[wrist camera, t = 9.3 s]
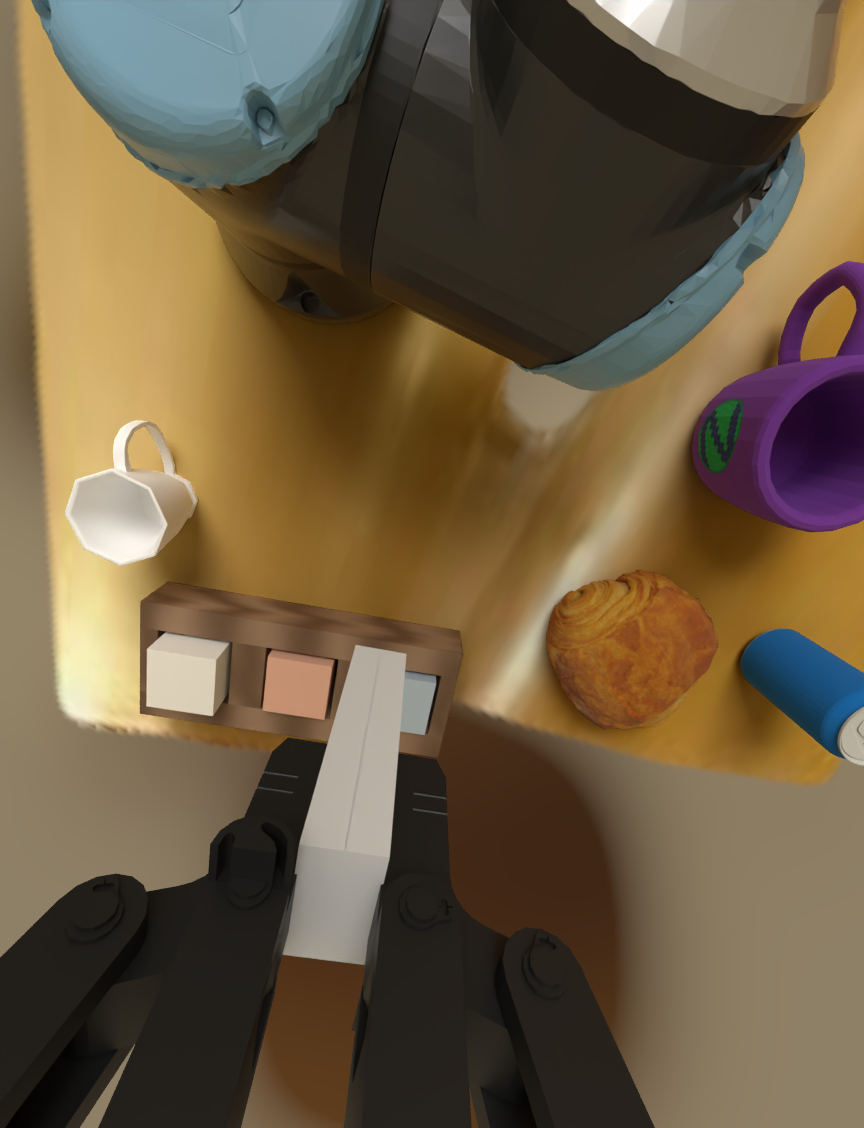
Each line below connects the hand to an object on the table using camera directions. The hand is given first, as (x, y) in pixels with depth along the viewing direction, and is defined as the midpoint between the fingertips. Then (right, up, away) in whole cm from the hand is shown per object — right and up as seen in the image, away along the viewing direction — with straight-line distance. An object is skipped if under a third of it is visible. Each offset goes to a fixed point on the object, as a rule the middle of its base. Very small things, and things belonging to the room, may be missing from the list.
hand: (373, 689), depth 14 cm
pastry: (+20, -3, +33) cm, 38 cm away
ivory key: (-19, -5, +29) cm, 35 cm away
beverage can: (+35, -5, +33) cm, 48 cm away
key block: (-10, -5, +32) cm, 34 cm away
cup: (-20, +11, +27) cm, 35 cm away
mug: (+28, +17, +26) cm, 42 cm away
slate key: (-1, -7, +32) cm, 33 cm away
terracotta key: (-10, -6, +32) cm, 33 cm away
